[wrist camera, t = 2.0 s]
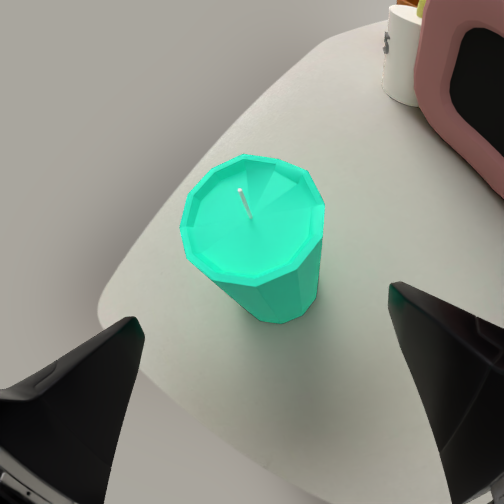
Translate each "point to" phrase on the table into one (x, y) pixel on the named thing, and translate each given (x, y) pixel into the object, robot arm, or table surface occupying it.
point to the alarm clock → (465, 80)
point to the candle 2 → (402, 52)
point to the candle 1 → (257, 234)
